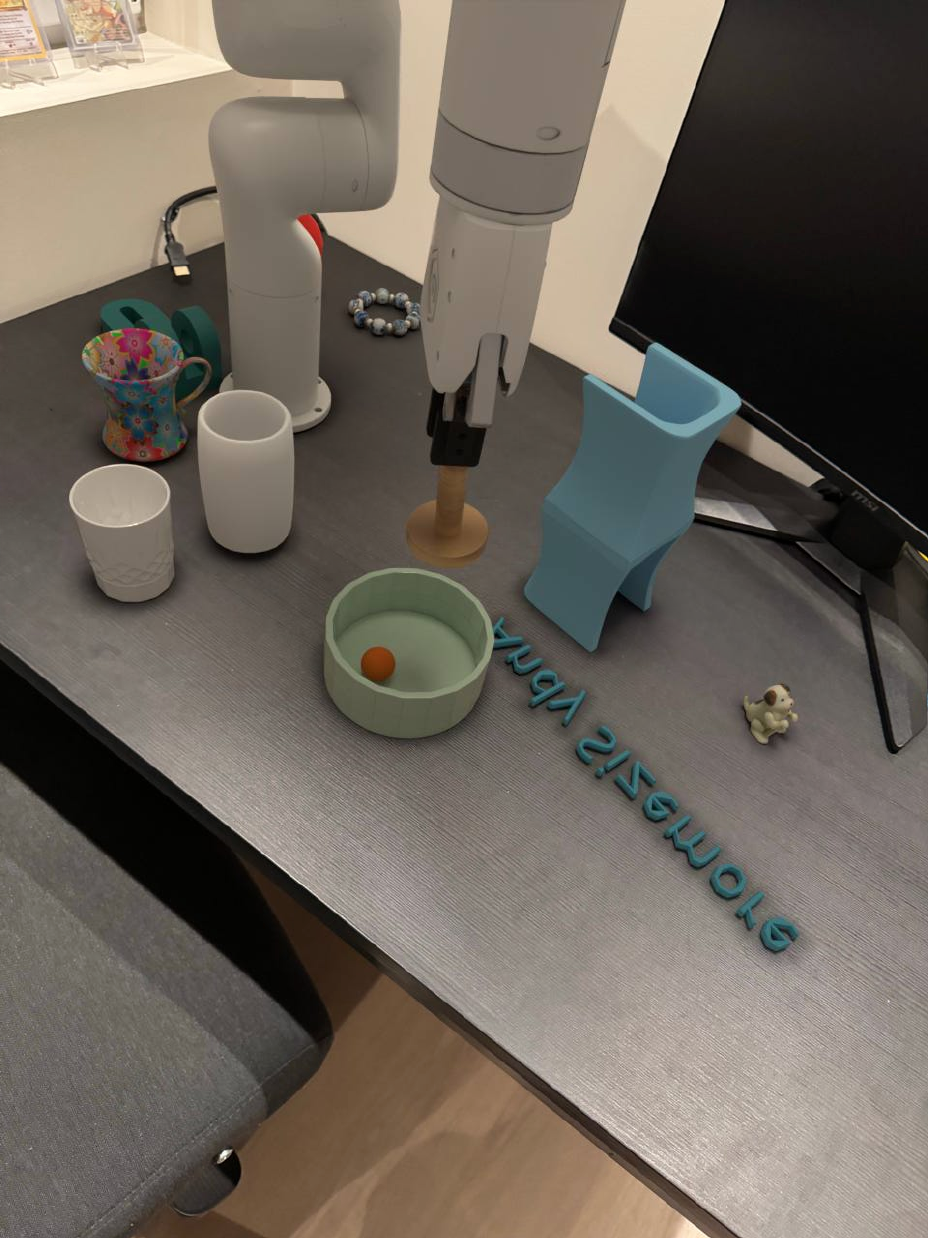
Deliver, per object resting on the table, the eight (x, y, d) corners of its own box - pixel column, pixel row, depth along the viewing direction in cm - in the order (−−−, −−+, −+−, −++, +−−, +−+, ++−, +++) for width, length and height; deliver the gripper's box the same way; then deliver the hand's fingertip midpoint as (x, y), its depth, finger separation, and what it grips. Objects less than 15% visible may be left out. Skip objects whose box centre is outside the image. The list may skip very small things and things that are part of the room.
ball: (356, 652, 74) (386, 637, 74) (372, 681, 75) (402, 666, 74) (352, 661, 71) (384, 645, 71) (370, 691, 72) (401, 675, 71)
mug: (111, 477, 86) (93, 388, 78) (91, 422, 90) (72, 333, 82) (228, 456, 90) (222, 370, 82) (203, 405, 95) (196, 320, 87)
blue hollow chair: (578, 550, 90) (655, 340, 71) (650, 606, 86) (751, 400, 67) (516, 591, 84) (581, 375, 65) (590, 653, 80) (682, 443, 62)
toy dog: (762, 748, 76) (787, 718, 73) (731, 706, 79) (753, 675, 75) (791, 738, 78) (817, 707, 74) (760, 697, 80) (783, 665, 76)
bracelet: (368, 291, 117) (369, 278, 116) (432, 314, 116) (434, 300, 114) (336, 322, 111) (337, 308, 109) (404, 347, 109) (406, 333, 108)
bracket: (223, 385, 98) (219, 323, 92) (170, 402, 95) (162, 339, 89) (145, 310, 106) (136, 249, 100) (92, 323, 102) (81, 261, 96)
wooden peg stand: (401, 512, 64) (409, 350, 53) (478, 508, 65) (501, 349, 54) (411, 571, 60) (421, 409, 49) (493, 565, 61) (520, 406, 50)
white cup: (197, 563, 80) (188, 482, 72) (150, 619, 75) (135, 539, 67) (123, 535, 81) (106, 452, 73) (71, 589, 76) (48, 506, 68)
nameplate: (508, 616, 82) (467, 636, 79) (509, 611, 81) (469, 631, 79) (804, 929, 65) (765, 967, 63) (809, 926, 65) (770, 964, 62)
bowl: (322, 610, 79) (324, 565, 74) (471, 612, 81) (481, 569, 77) (324, 740, 70) (327, 698, 65) (491, 737, 72) (505, 697, 68)
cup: (311, 539, 84) (314, 423, 74) (242, 577, 80) (235, 459, 69) (257, 493, 87) (253, 375, 77) (188, 527, 83) (173, 407, 72)
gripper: (420, 89, 46) (388, 374, 60) (449, 229, 36) (403, 532, 50) (551, 107, 48) (490, 382, 62) (613, 247, 38) (524, 536, 52)
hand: (451, 447), depth 56 cm, fingers closed on wooden peg stand
